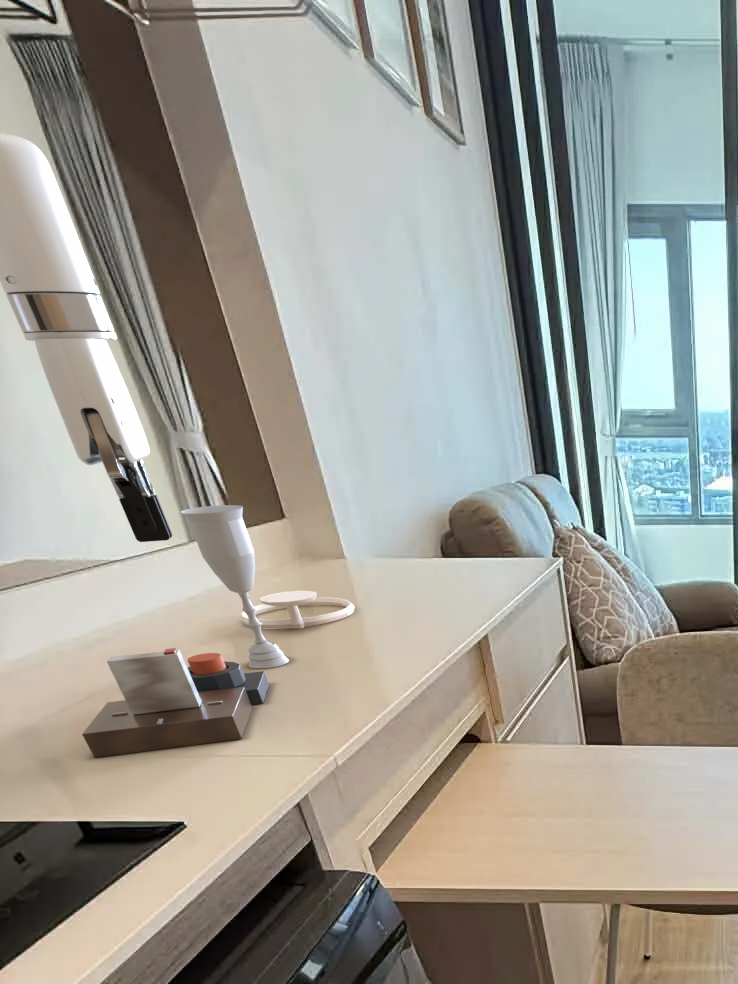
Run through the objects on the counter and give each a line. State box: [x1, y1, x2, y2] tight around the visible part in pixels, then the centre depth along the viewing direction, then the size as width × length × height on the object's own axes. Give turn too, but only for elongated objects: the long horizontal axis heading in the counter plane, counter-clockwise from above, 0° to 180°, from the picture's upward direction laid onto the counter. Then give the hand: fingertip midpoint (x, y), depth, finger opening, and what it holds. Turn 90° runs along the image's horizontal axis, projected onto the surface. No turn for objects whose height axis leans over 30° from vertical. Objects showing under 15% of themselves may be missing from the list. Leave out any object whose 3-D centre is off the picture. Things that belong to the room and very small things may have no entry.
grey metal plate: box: [106, 647, 202, 715], centre depth 90 cm, size 6×2×6 cm, turn 111°
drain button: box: [186, 652, 227, 675], centre depth 100 cm, size 4×4×2 cm
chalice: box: [180, 504, 290, 669], centre depth 109 cm, size 7×7×18 cm
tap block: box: [81, 687, 253, 758], centre depth 93 cm, size 14×11×3 cm
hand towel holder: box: [239, 590, 355, 630], centre depth 133 cm, size 17×4×21 cm
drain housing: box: [187, 661, 270, 706], centre depth 101 cm, size 10×8×4 cm
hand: (155, 539), depth 92 cm, fingers closed
